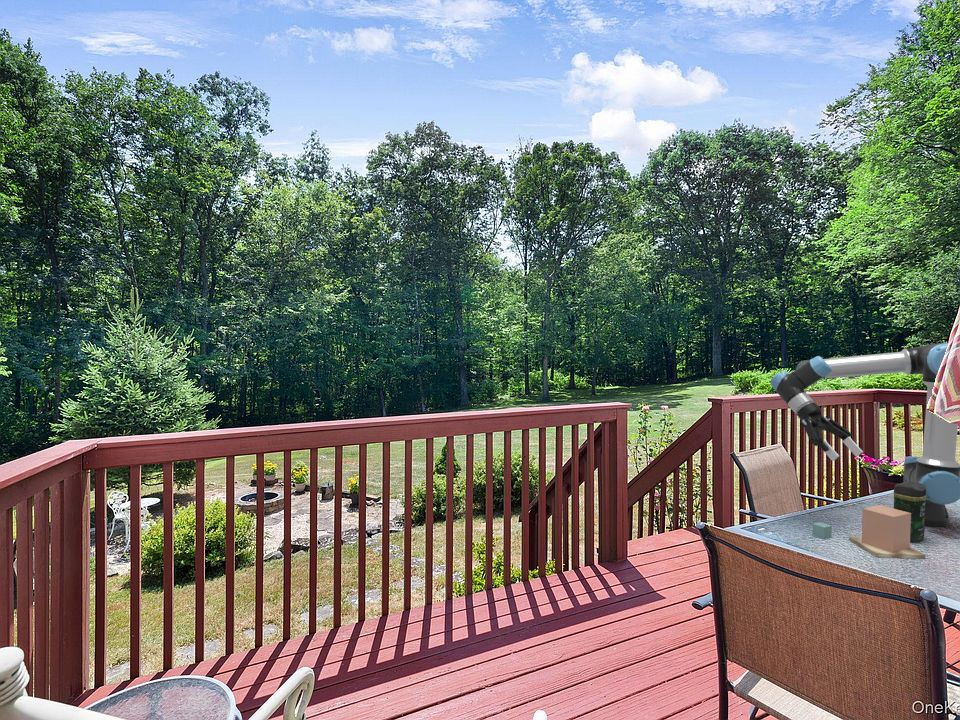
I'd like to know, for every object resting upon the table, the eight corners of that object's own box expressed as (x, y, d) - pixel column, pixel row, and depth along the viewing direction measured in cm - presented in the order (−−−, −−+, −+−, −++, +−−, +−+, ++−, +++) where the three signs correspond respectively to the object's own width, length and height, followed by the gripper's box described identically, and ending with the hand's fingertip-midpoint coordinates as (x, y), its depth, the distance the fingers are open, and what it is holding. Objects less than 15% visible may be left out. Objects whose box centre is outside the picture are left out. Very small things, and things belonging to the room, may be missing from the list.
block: (819, 533, 186) (820, 522, 186) (831, 537, 183) (831, 525, 182) (812, 535, 184) (812, 523, 184) (823, 539, 181) (824, 527, 181)
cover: (878, 538, 178) (879, 505, 178) (909, 548, 170) (911, 513, 170) (861, 542, 174) (862, 508, 174) (892, 552, 166) (894, 517, 166)
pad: (894, 541, 179) (894, 538, 179) (925, 558, 165) (925, 554, 165) (848, 540, 180) (849, 536, 180) (876, 557, 166) (876, 553, 166)
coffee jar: (917, 544, 176) (919, 487, 175) (888, 537, 183) (890, 482, 182) (928, 538, 182) (930, 483, 181) (899, 531, 188) (901, 478, 187)
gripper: (819, 412, 208) (861, 458, 195) (775, 417, 197) (817, 466, 184) (833, 399, 203) (877, 446, 190) (790, 403, 192) (833, 453, 179)
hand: (848, 456), depth 187 cm, fingers open, 13 cm apart
